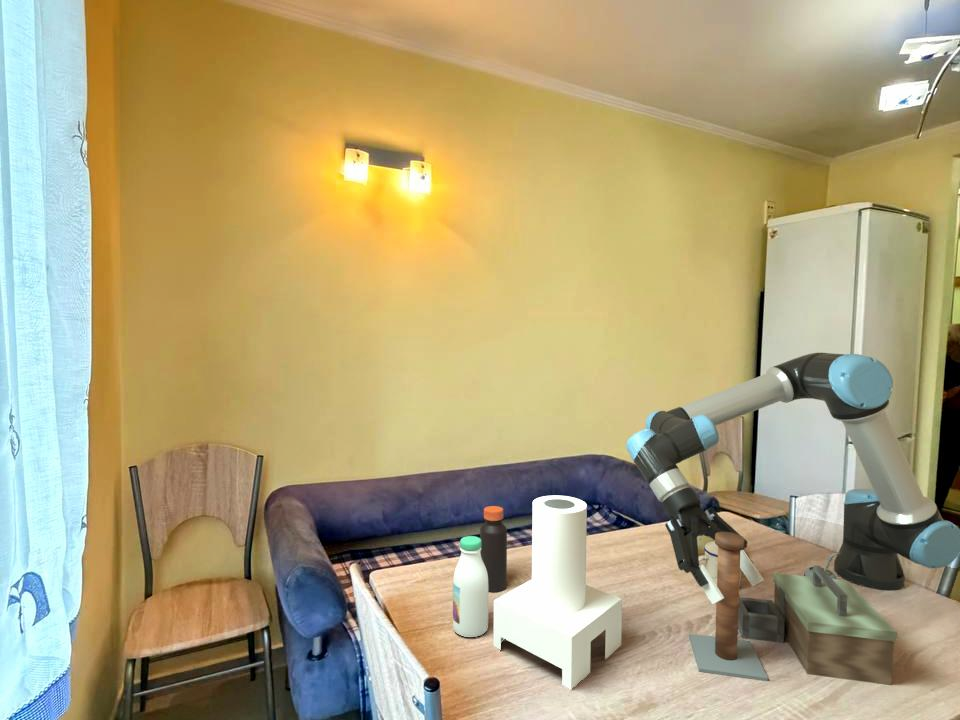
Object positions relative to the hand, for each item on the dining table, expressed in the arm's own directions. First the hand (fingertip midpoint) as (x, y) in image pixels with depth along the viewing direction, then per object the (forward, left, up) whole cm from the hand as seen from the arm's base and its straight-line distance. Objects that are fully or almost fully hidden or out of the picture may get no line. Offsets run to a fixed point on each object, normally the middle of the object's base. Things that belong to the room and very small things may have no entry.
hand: (739, 592), depth 103 cm
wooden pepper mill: (+2, -2, -14) cm, 14 cm away
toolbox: (-15, -10, -14) cm, 23 cm away
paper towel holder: (+35, +2, -15) cm, 38 cm away
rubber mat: (+2, -2, -14) cm, 15 cm away
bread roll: (-7, -52, -15) cm, 55 cm away
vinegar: (+53, -20, -15) cm, 58 cm away
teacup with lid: (-3, -35, -15) cm, 38 cm away
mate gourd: (-25, -29, -15) cm, 41 cm away
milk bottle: (+54, 0, -15) cm, 56 cm away
